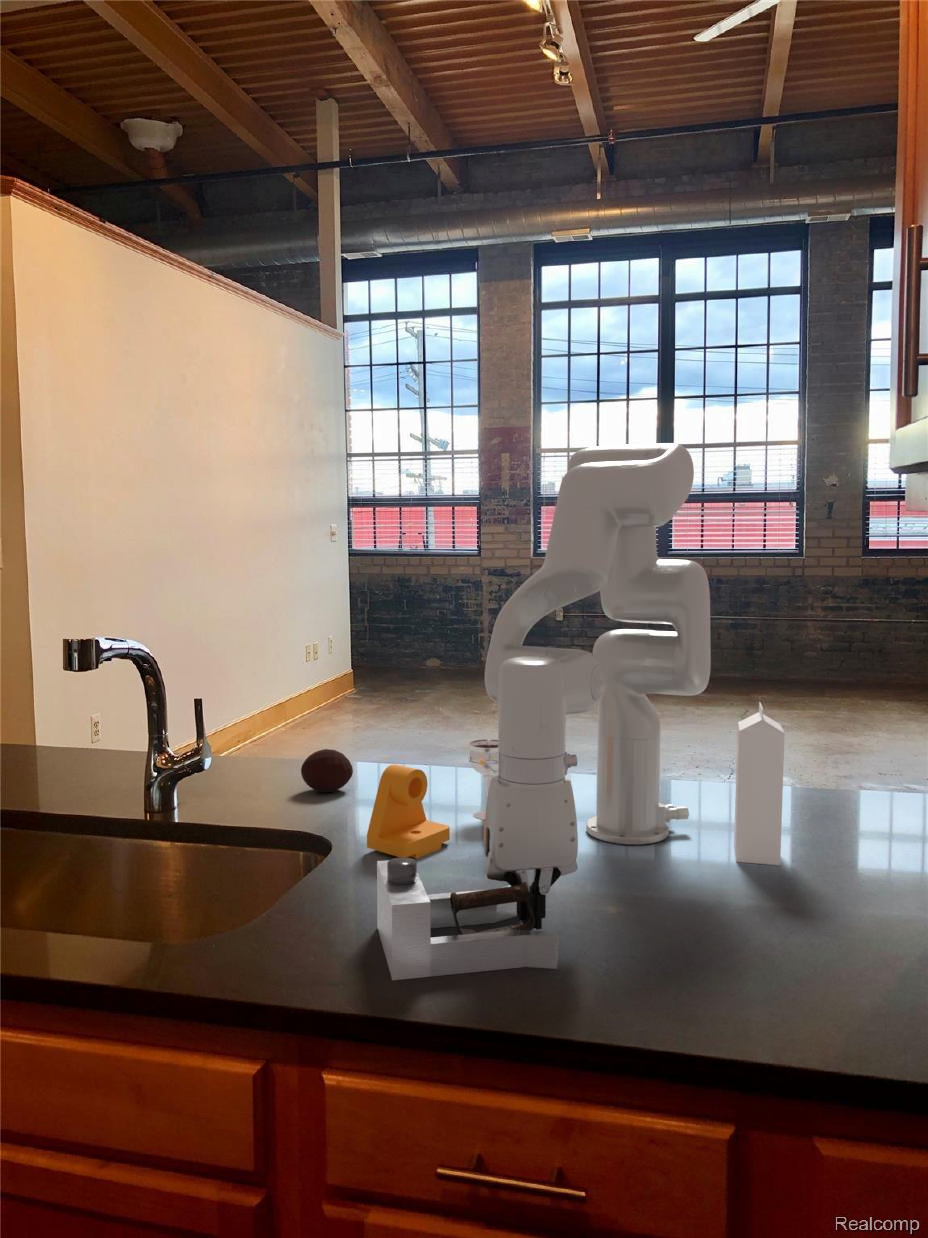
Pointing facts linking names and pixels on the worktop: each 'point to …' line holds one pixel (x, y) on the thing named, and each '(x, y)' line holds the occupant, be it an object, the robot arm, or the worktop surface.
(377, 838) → the bracket
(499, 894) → the clothes iron
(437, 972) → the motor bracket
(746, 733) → the milk
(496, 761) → the wineglass
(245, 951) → the worktop surface
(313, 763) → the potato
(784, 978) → the worktop surface
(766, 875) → the worktop surface
